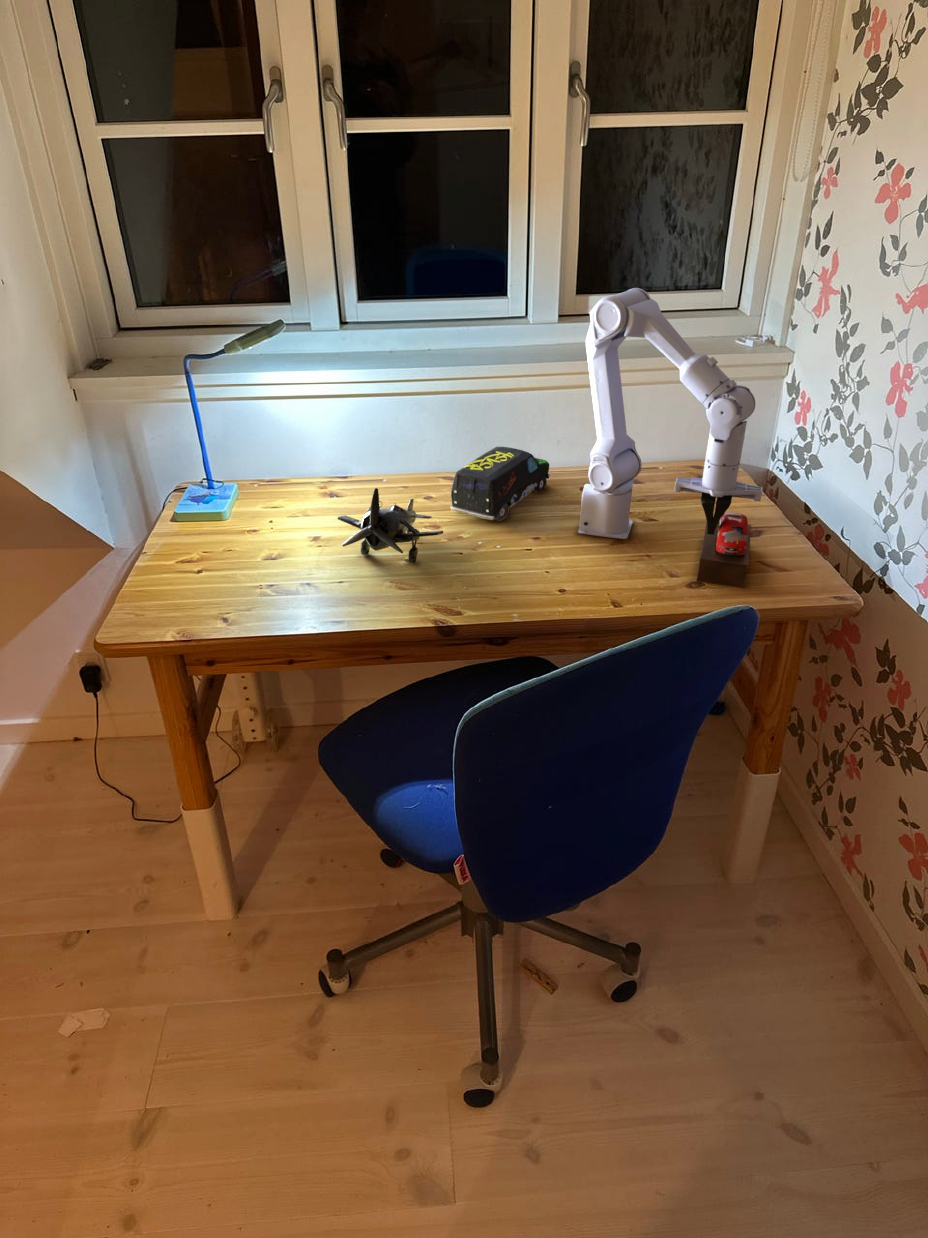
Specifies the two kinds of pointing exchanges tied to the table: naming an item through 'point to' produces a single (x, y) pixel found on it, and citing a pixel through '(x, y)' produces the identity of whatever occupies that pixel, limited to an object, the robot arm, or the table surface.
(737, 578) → the step block
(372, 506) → the airplane toy
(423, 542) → the table surface
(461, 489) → the toy van
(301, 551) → the table surface
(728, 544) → the race car
